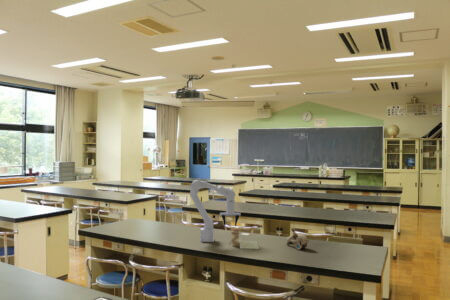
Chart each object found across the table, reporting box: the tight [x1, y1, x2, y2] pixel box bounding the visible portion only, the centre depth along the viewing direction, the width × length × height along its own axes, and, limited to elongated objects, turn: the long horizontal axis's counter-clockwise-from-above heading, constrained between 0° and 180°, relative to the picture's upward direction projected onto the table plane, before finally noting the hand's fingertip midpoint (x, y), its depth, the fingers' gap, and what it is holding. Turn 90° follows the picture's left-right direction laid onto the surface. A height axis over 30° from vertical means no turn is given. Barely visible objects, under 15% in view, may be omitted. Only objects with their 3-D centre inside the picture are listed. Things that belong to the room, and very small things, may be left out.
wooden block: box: [230, 229, 240, 247], centre depth 235 cm, size 5×8×9 cm, turn 0°
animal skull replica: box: [286, 232, 309, 251], centre depth 230 cm, size 8×17×10 cm, turn 41°
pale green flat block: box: [239, 238, 260, 250], centre depth 235 cm, size 13×20×2 cm, turn 0°
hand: (230, 225), depth 246 cm, fingers open, 7 cm apart
